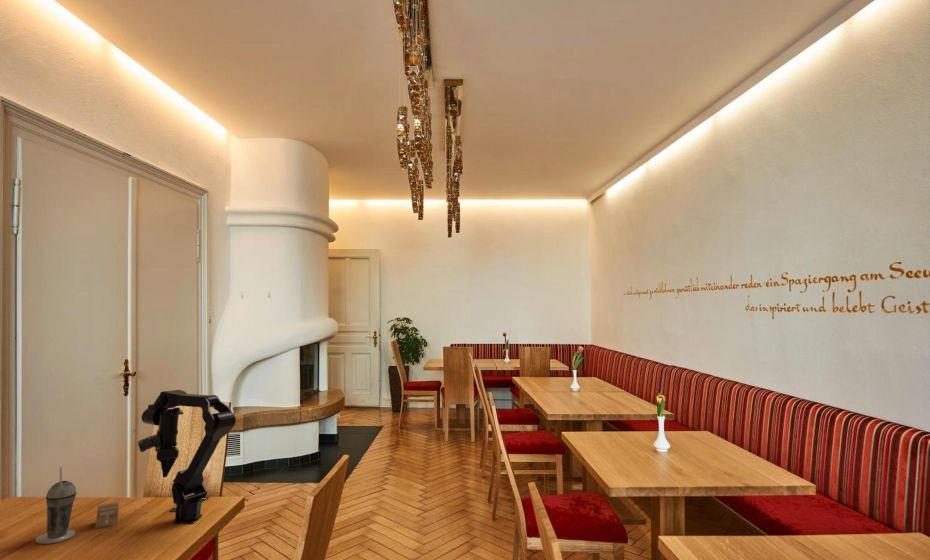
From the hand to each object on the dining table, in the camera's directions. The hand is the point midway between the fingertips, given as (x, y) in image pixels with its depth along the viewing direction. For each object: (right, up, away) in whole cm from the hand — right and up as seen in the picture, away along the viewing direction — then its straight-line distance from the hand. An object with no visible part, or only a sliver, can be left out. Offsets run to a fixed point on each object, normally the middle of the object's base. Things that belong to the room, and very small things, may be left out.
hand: (164, 473), depth 171 cm
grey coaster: (-19, -10, -23) cm, 31 cm away
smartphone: (+5, -15, +7) cm, 17 cm away
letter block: (-11, -12, -12) cm, 20 cm away
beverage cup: (-18, -10, -23) cm, 31 cm away
